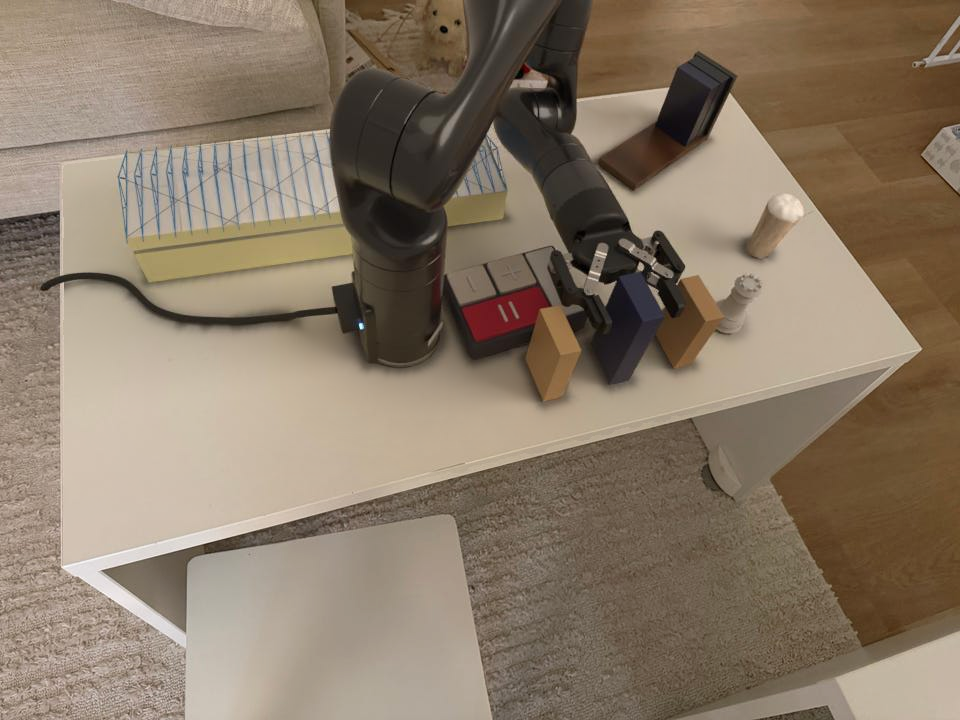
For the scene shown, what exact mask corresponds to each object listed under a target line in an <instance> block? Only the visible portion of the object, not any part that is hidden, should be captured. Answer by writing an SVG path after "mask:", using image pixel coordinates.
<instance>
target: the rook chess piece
mask: <svg viewBox="0 0 960 720" xmlns="http://www.w3.org/2000/svg"><path fill="white" fill-rule="evenodd" d="M761 281H762V279H761V278H760V277H756V278H755V274H753V273H749V274H748V273H744V274H742V275H740V276H738V277H736V279H735V280H734V283H733V285H734V286H733V287H732V288H731V290H730V294H729V295H728V296H727V297H726V298H724V299H721V300H719V301H715V303H716V304H717V306H718V308H719V309H720V311H721V312H722V314H723V316H724V318H723V319H722V321H721V322H720V324H719V325H718V327H717V328H716V329H715V331H717V332H719V333H720V332H721V333H723V334H735V333H737V332H739V331H740V330H741V329H742V328H743V326H744V324H745V322H746V316H747V315H746V312H747V311H746V310H747V308H748V306H749V304H751V303H753V301H754V299H755V298H757V297H759V296H760V295H761V294H762V290H763V289H762V287H763V283H761Z"/></svg>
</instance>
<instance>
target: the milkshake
mask: <svg viewBox="0 0 960 720" xmlns="http://www.w3.org/2000/svg"><path fill="white" fill-rule="evenodd" d="M804 211H805V210H804V206H803V204H802V203H801V201H800V200H799V199H798V198H797V197H795V196H794V195H792V194H790V193H784V192H783V193H776V194H774V195H773V196H771V197H770V198H769V199H768V200H767V203H766V204H765V207H764V209H763V211H762V214H761V216H760V218H759V220H758V222H757V224H756V226H755V228H754V230H753V232H752V234H751V235H750V237H749V240H748V241H747V243H746V245H745V247H746V251H747V252H748V254H750V255H751V256H752V257H754V258H757V259H765V258H768V257H769V255H770V254H771V253H772V252H773V251H774V249H775V248H776V247H777V246H778V245H779V244H780V242H781V241H782V240H783V239H784V238H785V236H787V235H788V233H789V232H790V231H791V230H792V229H793V228H794V227H795V225H796V224H797V223H798V222H799V221H800V220H801V219H802V218H804V217H806V216H807V215H810V214H812V213H814V210H813V211H810V212H808V213H807V214H804V213H805V212H804Z"/></svg>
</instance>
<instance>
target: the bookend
mask: <svg viewBox="0 0 960 720" xmlns="http://www.w3.org/2000/svg"><path fill="white" fill-rule="evenodd" d="M737 78H738V75H737V74H736V73H734V72H733V71H731V70H729V69H728V68H726V67H725V66H723V65H722V64H721V63H718V62H717V61H715V60H714V59H712V58H711V57H709V56H708V55H706V54H704V53H703V52H701V51H700V50H697V51H696V52H695V53H694V54H693V57H692V58H691V59H689V60H687V61H685V62H684V63H682V64H680V65H679V66H677V67H676V69H675V72H674V75H673V77H672V80H671V83H670V86H669V88H668V91H667V93H666V95H665V98H664V101H663V103H662V106H661V108H660V112H659V114H658V116H657V119H656V121H655V122H653V123H652V124H650V125H649V126H647V127H645V128H644V129H642V130H641V131H639V132H637V133H636V134H635V135H632V136H631V137H629V138H628V139H626V140H625V141H624V142H622V143H620V144H618V145H617V146H615V147H614V148H612V149H611V150H609V151H608V152H606V153H605V154H603V155H602V156H600V157H599V158H598V161H597V165H599V167H601V168H602V169H604V170H605V171H606V172H607V173H609V174H610V175H612V176H613V177H614V178H615V179H617V180H618V181H620V182H621V183H622V184H624V185H625V186H626V187H627V188H629V189H630V190H631V191H633V192H635V190H637V189H639V188H640V187H642V185H644V184H646V183H647V182H649V181H650V180H651V179H653V178H654V177H656V176H657V175H658V174H660V173H662V172H663V171H664V170H666V169H668V167H670V166H671V165H673V164H674V163H676V162H677V161H679V160H680V159H681V158H683V157H684V156H686V155H687V154H689V153H690V152H692V151H693V150H694V149H696V148H697V147H699V146H700V145H702V144H703V143H704V142H706V141H707V140H708V139H709V137H710V135H711V132H712V131H713V129H714V126H715V124H716V122H717V120H718V118H719V116H720V114H721V112H722V110H723V108H724V106H725V103H726V102H727V99H728V97H729V95H730V93H731V91H732V89H733V87H734V84H735V82H736V80H737Z"/></svg>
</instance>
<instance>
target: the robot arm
mask: <svg viewBox="0 0 960 720" xmlns="http://www.w3.org/2000/svg"><path fill="white" fill-rule="evenodd" d="M593 2H594V0H462V6H463V7H462V8H463V15H464V24H465V31H466V32H465V33H466V62H465V66H464V68H463V71H462V73H461V75H460V77H459V78H458V81H457V82H456V84H455V85H454V87H453V88H452V89H451V90H449V91H448V92H447V93H442V92H440V91H437V90H435V89H433V88H430V87H428V86H425V85H424V84H421V83H419V82H416V81H414V80H411V79H410V78H406V77H404V76H401V75H400V74H397V73H394V72H391V71H389V70H386V69H384V68H380V67H367V68H364V69H361V70H359V71H357V72H355V73H354V74H353V75H352V76H351V77H350V78H349V79H348V80H347V81H346V82H345V84H344V85H343V86H342V88H341V89H340V92H339V94H338V96H337V98H336V101H335V103H334V106H333V110H332V113H331V119H330V124H329V133H330V136H329V147H330V159H331V166H332V172H333V177H334V182H335V187H336V192H337V198H338V203H339V208H340V214H341V218H342V222H343V224H344V226H345V228H346V230H347V231H348V233H349V234H350V235H351V243H352V252H353V254H352V261H353V270H352V271H351V275H350V276H351V282H348V283H342V284H336V285H333V286H331V292H332V299H333V302H334V303H333V304H334V306H328V307H327V306H326V307H318V308H317V307H316V308H309V309H301V310H295V311H293V312H292V311H291V312H286V313H275V314H267V315H258V316H257V315H256V316H255V315H254V316H241V317H240V316H239V317H237V316H236V317H232V316H231V317H229V316H228V317H224V316H203V315H199V316H198V315H190V314H189V315H188V314H182V313H177V312H174V311H170V310H167V309H164V308H162V307H160V306H157V305H156V304H154V303H153V302H151V301H150V300H149V299H148V298H147V297H146V296H145V295H144V293H142V291H141V290H139V288H138V287H137V286H135V284H133V283H132V282H131V281H130V280H128V279H126V278H124V277H122V276H118V275H115V274H111V273H104V272H90V271H89V272H87V271H86V272H85V271H83V272H73V273H67V274H62V275H58V276H55V277H53V278H50V279H49V280H47V281H45V282H44V283H43V284H42V285H41V286H40V287H39V291H41V292H47V291H49V290H51V288H53V287H54V286H57V285H60V284H62V283H66V282H73V281H80V280H82V281H83V280H94V281H95V280H97V281H106V282H110V283H111V282H112V283H116V284H118V285H121V286H123V287H124V288H126V289H127V290H128V291H129V292H131V294H132V295H133V296H134V297H135V298H136V299H137V300H138V301H139V302H140V303H141V304H142V305H143V306H144V307H145V308H146V309H148V310H149V311H151V312H152V313H154V314H155V315H158V316H161V317H163V318H166V319H170V320H174V321H177V322H182V323H190V324H203V325H253V324H254V325H255V324H264V323H271V322H282V321H290V320H295V319H300V318H308V317H318V316H328V315H329V316H330V315H337V318H338V321H339V326H340V330H341V333H342V334H347V333H352V332H357V331H358V332H359V339H360V343H361V345H362V347H363V351H364V354H365V358H366V362H367V363H368V364H373V363H379V364H382V365H385V366H386V367H387V366H388V367H393V368H408V367H413V366H416V365H418V364H421V363H423V362H425V361H426V360H427V359H429V358H430V357H431V356H432V355H433V354H435V351H436V350H437V349H438V346H439V344H440V340H441V332H442V331H441V329H442V328H443V325H444V321H443V320H442V308H443V307H442V306H443V297H444V295H443V283H444V275H445V267H446V255H447V245H448V244H447V243H448V232H449V231H448V229H449V226H448V220H447V214H446V211H445V209H444V205H445V204H446V203H447V202H448V201H449V200H450V199H451V198H452V196H453V195H454V194H455V192H456V191H457V189H458V188H459V186H460V185H461V183H462V182H463V180H464V178H465V176H466V175H467V173H468V171H469V169H470V167H471V165H472V163H473V161H474V159H475V157H476V155H477V153H478V151H479V149H480V147H481V145H482V143H483V141H484V139H485V137H487V136H486V135H488V133H489V131H490V128H491V126H493V129H494V132H495V135H496V137H497V139H498V141H499V142H500V144H501V146H503V148H504V149H505V150H506V151H507V152H508V153H509V155H510V156H512V157H513V159H515V161H516V162H518V164H519V165H520V166H522V168H523V169H524V170H525V171H527V172H528V173H529V174H530V175H532V178H533V180H534V182H535V185H536V187H537V188H538V190H539V193H540V194H541V197H542V198H543V201H544V204H545V207H546V210H547V212H548V215H549V218H550V220H551V222H552V223H553V225H554V227H555V229H556V231H557V233H558V235H559V237H560V238H561V241H562V243H563V245H564V246H565V250H566V251H567V252H568V253H562V252H561V250H559V249H556V250H553V251H552V252H551V256H550V259H549V263H548V267H547V269H548V272H549V274H550V277H551V279H552V282H553V284H554V286H555V289H556V291H557V294H558V296H559V299H560V301H561V303H562V305H563V306H565V307H570V306H571V305H579V306H580V307H581V308H583V309H584V311H585V313H586V315H587V317H588V319H587V320H588V321H589V323H590V326H591V327H592V328H593V330H599V332H600V334H606V333H609V331H610V329H611V326H612V320H611V318H610V316H609V314H608V312H607V310H606V308H605V307H606V305H605V304H604V302H603V300H602V298H601V296H600V294H595V293H596V290H597V287H598V283H601V284H603V285H610V284H613V283H616V282H617V279H618V277H619V276H623V275H628V274H632V273H637V272H641V274H642V276H643V277H644V279H645V281H646V283H647V284H648V286H650V287H651V288H653V289H654V290H656V291H658V292H657V295H658V298H659V299H660V300H661V302H662V304H663V306H664V308H666V309H667V311H668V313H669V315H670V316H671V318H676V317H680V315H681V313H682V312H683V310H684V305H685V304H686V302H685V298H684V297H683V296H682V293H681V292H680V290H679V288H678V286H677V284H678V283H679V281H680V279H681V276H682V274H683V273H684V272H685V269H686V264H685V263H684V262H683V260H682V258H681V257H680V255H679V254H678V253H677V251H676V249H675V248H674V247H673V245H672V243H671V241H670V240H669V239H668V238H667V236H666V235H665V233H664V232H663V231H662V230H657V229H656V230H654V232H653V234H652V236H647V237H644V238H640V237H639V236H637V235H636V234H635V233H634V232H633V230H632V227H631V223H630V221H629V218H628V216H627V214H626V213H625V211H624V209H623V208H622V206H621V204H620V203H619V201H618V199H617V197H616V195H615V194H614V192H613V190H612V189H611V187H610V184H609V183H608V181H607V180H606V178H605V177H604V176H603V174H602V173H601V171H599V169H598V168H597V166H595V164H594V162H593V161H592V158H591V157H590V155H589V153H588V151H587V149H586V148H585V145H583V143H582V142H581V140H579V138H578V137H577V136H575V135H574V134H572V133H573V132H574V129H575V127H576V123H577V116H578V96H577V95H578V77H579V76H578V74H579V60H580V55H581V51H582V48H583V46H584V45H583V44H584V41H585V37H586V33H587V29H588V26H589V21H590V18H591V13H592V9H593ZM523 65H524V66H526V67H527V68H528V69H530V70H532V71H534V72H536V73H539V74H542V75H545V76H546V78H547V83H546V86H545V87H542V88H541V87H525V86H523V87H520V86H518V87H517V86H515V87H511V86H512V84H513V83H514V80H515V79H516V77H517V75H518V73H519V72H520V70H521V68H522V66H523ZM640 264H642V265H643V268H642V270H641V269H638V268H639V265H640ZM571 266H572V267H573V268H574V269H576V270H577V271H579V272H580V273H582V274H584V275H586V278H585V281H584V284H583V287H578V286H577V285H575V284H576V283H575V280H574V277H573V276H572V273H571ZM576 286H577V287H576ZM441 320H442V321H441Z"/></svg>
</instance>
